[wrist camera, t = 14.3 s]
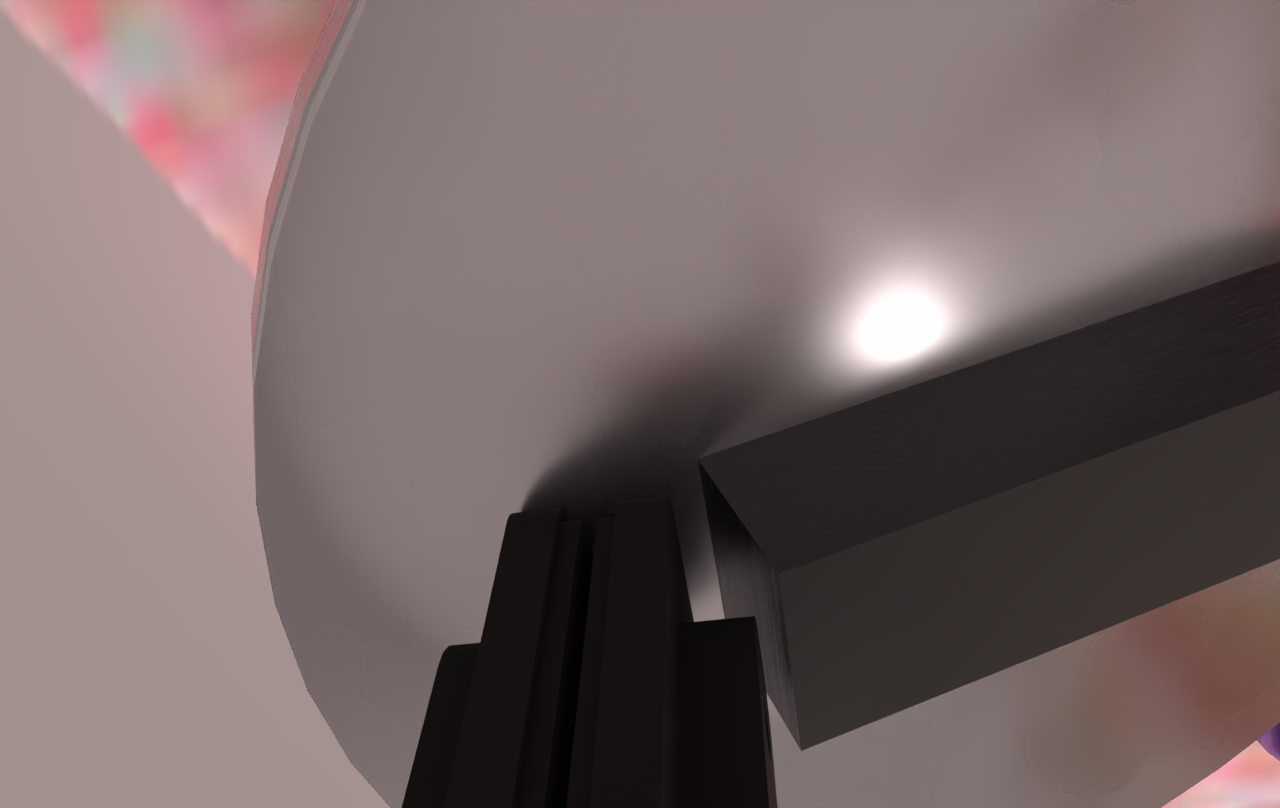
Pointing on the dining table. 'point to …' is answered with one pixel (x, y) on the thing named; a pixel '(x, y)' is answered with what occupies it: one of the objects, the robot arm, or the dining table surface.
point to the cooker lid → (799, 366)
